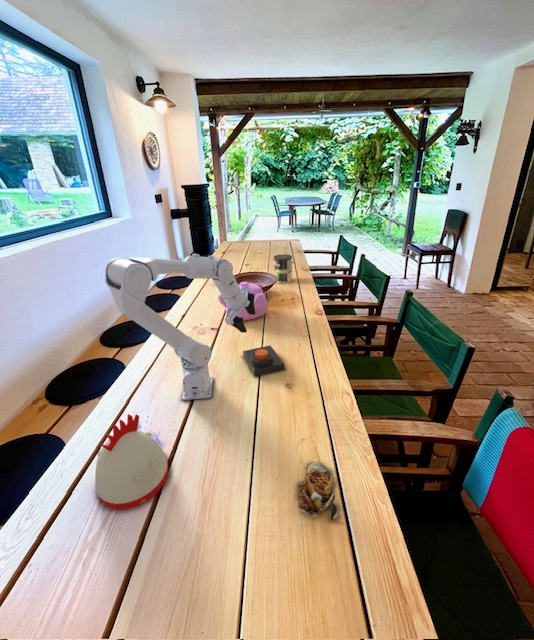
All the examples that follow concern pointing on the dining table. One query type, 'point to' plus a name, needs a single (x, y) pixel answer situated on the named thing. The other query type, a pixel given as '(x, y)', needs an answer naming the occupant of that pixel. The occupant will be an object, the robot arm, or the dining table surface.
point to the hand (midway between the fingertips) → (248, 322)
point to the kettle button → (261, 354)
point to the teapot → (259, 302)
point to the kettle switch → (263, 361)
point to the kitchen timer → (129, 467)
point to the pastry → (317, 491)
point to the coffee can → (283, 268)
